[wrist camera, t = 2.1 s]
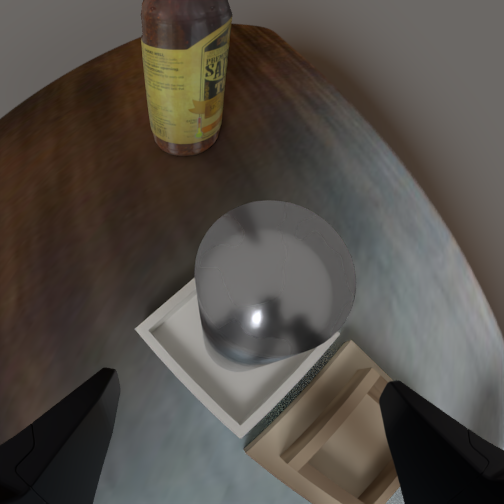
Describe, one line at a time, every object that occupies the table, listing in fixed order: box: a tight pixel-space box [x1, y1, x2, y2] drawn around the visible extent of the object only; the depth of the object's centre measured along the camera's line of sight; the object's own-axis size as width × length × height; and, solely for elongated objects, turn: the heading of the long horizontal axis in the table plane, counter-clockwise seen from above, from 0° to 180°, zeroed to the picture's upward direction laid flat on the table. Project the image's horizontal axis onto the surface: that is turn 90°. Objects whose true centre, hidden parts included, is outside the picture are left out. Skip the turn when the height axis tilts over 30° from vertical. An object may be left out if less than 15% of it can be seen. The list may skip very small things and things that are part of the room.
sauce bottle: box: [141, 0, 232, 156], centre depth 17 cm, size 7×6×20 cm
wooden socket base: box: [244, 340, 400, 504], centre depth 16 cm, size 10×11×3 cm
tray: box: [135, 278, 340, 439], centre depth 19 cm, size 9×9×2 cm
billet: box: [195, 200, 356, 372], centre depth 13 cm, size 4×4×12 cm
